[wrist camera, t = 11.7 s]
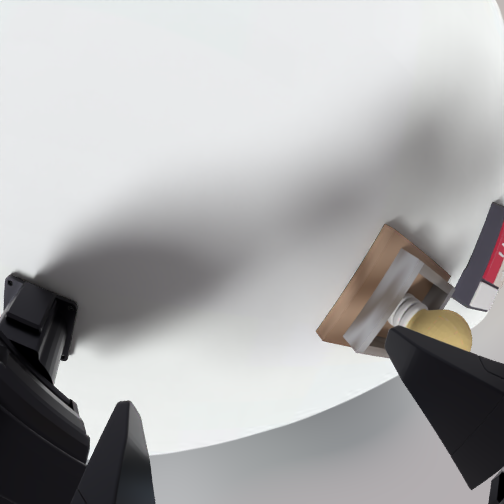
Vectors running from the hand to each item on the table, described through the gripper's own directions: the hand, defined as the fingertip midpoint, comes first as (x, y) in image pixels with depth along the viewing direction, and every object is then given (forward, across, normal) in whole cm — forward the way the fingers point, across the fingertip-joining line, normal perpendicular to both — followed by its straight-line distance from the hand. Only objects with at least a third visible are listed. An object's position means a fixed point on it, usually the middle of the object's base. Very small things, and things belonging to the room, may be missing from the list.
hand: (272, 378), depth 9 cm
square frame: (+13, -18, +11) cm, 25 cm away
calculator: (+14, -40, +11) cm, 43 cm away
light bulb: (+12, -18, +11) cm, 24 cm away
